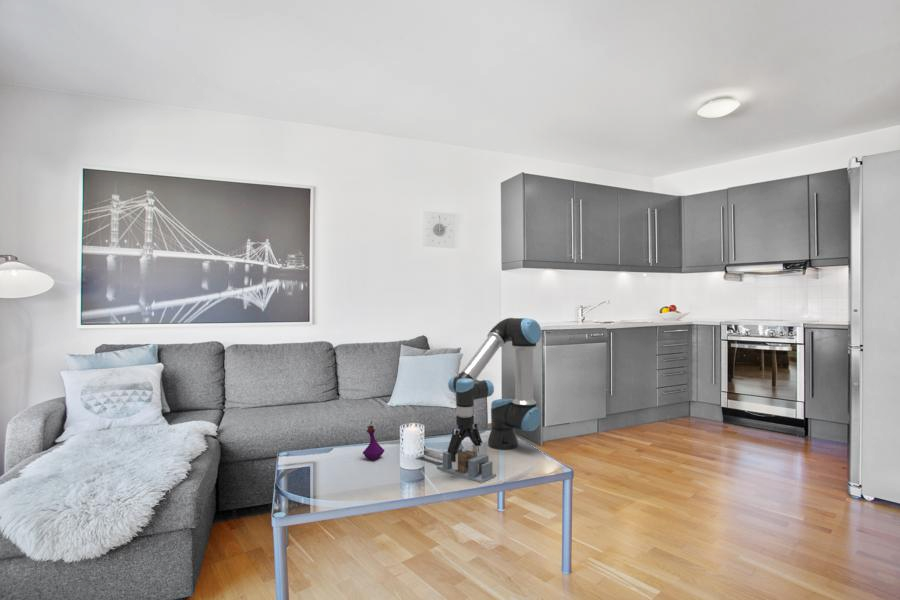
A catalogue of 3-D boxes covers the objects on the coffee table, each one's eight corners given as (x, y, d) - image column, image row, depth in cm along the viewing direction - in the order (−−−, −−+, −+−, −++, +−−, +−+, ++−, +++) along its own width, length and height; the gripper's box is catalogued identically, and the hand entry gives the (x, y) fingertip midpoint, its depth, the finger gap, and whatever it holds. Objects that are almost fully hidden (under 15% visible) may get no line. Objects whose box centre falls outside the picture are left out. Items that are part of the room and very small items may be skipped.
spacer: (466, 466, 206) (466, 450, 206) (475, 468, 203) (475, 452, 203) (455, 470, 201) (455, 454, 201) (464, 473, 197) (463, 457, 197)
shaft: (423, 453, 222) (423, 444, 222) (459, 465, 207) (459, 454, 207) (416, 456, 219) (416, 446, 219) (452, 467, 204) (452, 457, 204)
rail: (452, 462, 214) (451, 445, 214) (496, 476, 197) (496, 457, 197) (436, 468, 206) (436, 450, 206) (481, 483, 190) (481, 464, 190)
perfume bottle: (362, 459, 219) (361, 421, 219) (372, 454, 225) (371, 417, 225) (375, 462, 215) (374, 423, 215) (384, 457, 222) (384, 419, 222)
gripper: (476, 408, 214) (476, 455, 214) (438, 419, 195) (439, 470, 195) (489, 411, 209) (490, 459, 209) (452, 422, 190) (452, 475, 190)
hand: (465, 464), depth 202 cm, fingers open, 13 cm apart
